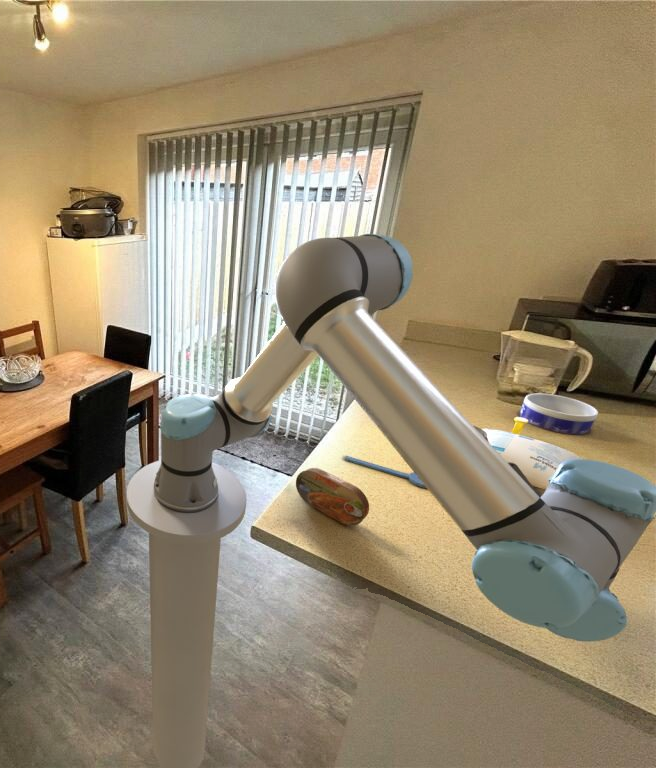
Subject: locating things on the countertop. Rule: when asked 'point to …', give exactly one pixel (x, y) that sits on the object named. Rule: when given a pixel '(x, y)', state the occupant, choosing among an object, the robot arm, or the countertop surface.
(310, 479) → the tin
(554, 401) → the dog bowl
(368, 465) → the spoon
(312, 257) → the robot arm
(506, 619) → the countertop surface
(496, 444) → the pouch
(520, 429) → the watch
